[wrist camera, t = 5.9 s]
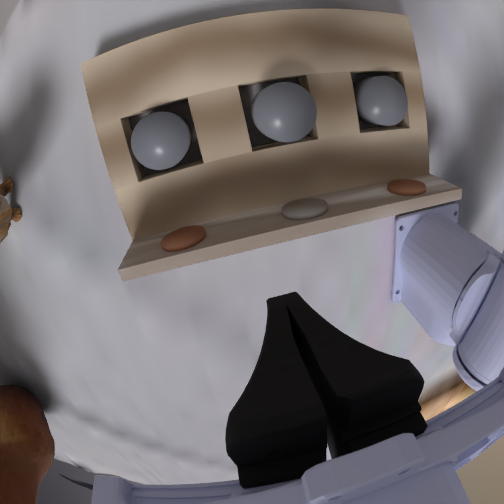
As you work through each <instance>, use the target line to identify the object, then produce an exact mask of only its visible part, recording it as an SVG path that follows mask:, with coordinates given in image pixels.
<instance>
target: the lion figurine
mask: <svg viewBox="0 0 504 504" xmlns="http://www.w3.org/2000/svg"><path fill="white" fill-rule="evenodd" d="M13 185H14V184H13V182H12V180H11V179H9V178H6V179H5V180H4V182H3V183H2V184H1V185H0V243H1V242H2V241H3V239H5V237H6V236H7V234H8V230H9V227H10V225H11V222H10V221H11V220H14V221H15V222H18V221H19V220H20V219H21V217H22V213H21V210H20V209H19V208H11V206H10V205H9V204H8V202H7V200H6V198H5V196H6V195H7V194H8V193H9V192H11V191H12V190H13Z"/></svg>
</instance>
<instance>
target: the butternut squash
mask: <svg viewBox="0 0 504 504" xmlns="http://www.w3.org/2000/svg"><path fill="white" fill-rule="evenodd" d="M54 453H55V445H54V439H53V437H52V435H51V432H50V429H49V426H48V423H47V420H46V417H45V415H44V412H43V410H42V408H41V406H40V404H39V402H38V401H37V399H36V398H35V397H34V395H33V394H32V393H31V392H28V391H25V390H23V389H22V388H19V387H17V386H14V385H0V504H36V502H37V495H38V489H39V485H40V482H41V480H42V478H43V477H44V475H45V474H46V473H47V471H48V470H49V468H50V466H51V463H52V461H53V459H54Z"/></svg>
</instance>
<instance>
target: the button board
mask: <svg viewBox="0 0 504 504" xmlns="http://www.w3.org/2000/svg"><path fill="white" fill-rule="evenodd" d="M81 67H82V73H83V77H84V82H85V87H86V91H87V96H88V100H89V104H90V109H91V113H92V117H93V121H94V124H95V128H96V132H97V135H98V139H99V143H100V146H101V150H102V153H103V156H104V160H105V163H106V166H107V169H108V172H109V176H110V179H111V182H112V185H113V188H114V191H115V194H116V197H117V199H118V202H119V205H120V208H121V211H122V214H123V216H124V219H125V222H126V224H127V227H128V230H129V232H130V235H131V237H132V240H133V242H132V244H131V246H130V247H129V249H128V251H127V253H126V255H125V257H124V259H123V261H122V263H121V265H120V267H119V269H118V271H119V274H120V276H121V278H122V280H123V281H127V280H131V279H135V278H139V277H143V276H147V275H151V274H155V273H159V272H163V271H167V270H172V269H176V268H180V267H184V266H188V265H192V264H196V263H200V262H204V261H208V260H212V259H216V258H220V257H225V256H229V255H233V254H237V253H241V252H245V251H249V250H253V249H257V248H261V247H265V246H270V245H274V244H278V243H282V242H286V241H290V240H294V239H298V238H302V237H307V236H311V235H315V234H319V233H323V232H327V231H331V230H335V229H339V228H344V227H348V226H352V225H356V224H360V223H364V222H368V221H373V220H377V219H381V218H385V217H389V216H393V215H397V214H402V213H406V212H410V211H414V210H418V209H422V208H426V207H431V206H435V205H439V204H443V203H447V202H451V201H456V200H460V199H462V188H460V187H458V186H456V185H454V184H452V183H449V182H447V181H445V180H443V179H440V178H438V177H436V176H433V175H431V174H429V147H428V131H427V119H426V109H425V101H424V93H423V86H422V79H421V73H420V67H419V62H418V57H417V52H416V47H415V43H414V38H413V34H412V30H411V26H410V22H409V18H408V16H407V15H401V14H394V13H387V12H378V11H368V10H354V9H290V10H276V11H265V12H256V13H248V14H241V15H235V16H229V17H223V18H218V19H213V20H208V21H203V22H199V23H194V24H190V25H186V26H182V27H179V28H175V29H171V30H168V31H164V32H161V33H158V34H155V35H151V36H148V37H145V38H142V39H139V40H137V41H134V42H131V43H128V44H126V45H123V46H120V47H118V48H115V49H113V50H110V51H108V52H106V53H103V54H101V55H99V56H96V57H94V58H92V59H90V60H88V61H85V62H83V63H81ZM351 73H388V76H389V77H392V78H394V79H395V80H397V81H398V82H399V83H400V84H401V85H402V87H403V88H404V90H405V92H406V95H407V99H408V109H407V113H406V115H405V117H404V118H403V120H402V121H401V122H399V123H398V124H396V126H387V127H377V128H367V129H359V121H358V114H357V108H356V101H355V95H354V90H353V84H352V79H351ZM292 78H298V80H299V85H300V86H302V87H303V88H305V89H306V90H307V91H308V92H309V93H310V94H311V96H312V97H313V99H314V101H315V104H316V108H317V117H316V122H315V124H314V127H313V128H312V130H311V131H310V132H309V137H303V138H302V139H300V140H297V141H294V142H276V143H271V144H266V145H261V146H256V147H252V148H251V143H250V139H249V134H248V129H247V125H246V120H245V116H244V111H243V107H242V102H241V98H240V93H239V89H238V87H242V86H247V85H252V84H258V83H264V82H270V81H277V80H284V79H292ZM186 99H188V102H189V106H190V110H191V114H192V118H193V122H194V126H195V130H196V134H197V138H198V142H199V146H200V150H201V154H202V158H203V159H201V160H198V161H194V162H190V163H187V164H183V165H179V166H176V167H172V168H169V169H166V170H162V171H159V172H156V173H152V174H149V175H146V176H145V174H144V171H143V167H142V164H141V163H140V162H139V161H138V160H137V159H136V158H135V156H134V154H133V151H132V148H131V136H132V133H133V132H132V128H131V125H130V121H129V117H132V116H135V115H138V114H141V113H144V112H147V111H150V110H153V109H156V108H159V107H162V106H165V105H169V104H172V103H176V102H179V101H183V100H186Z"/></svg>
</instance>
